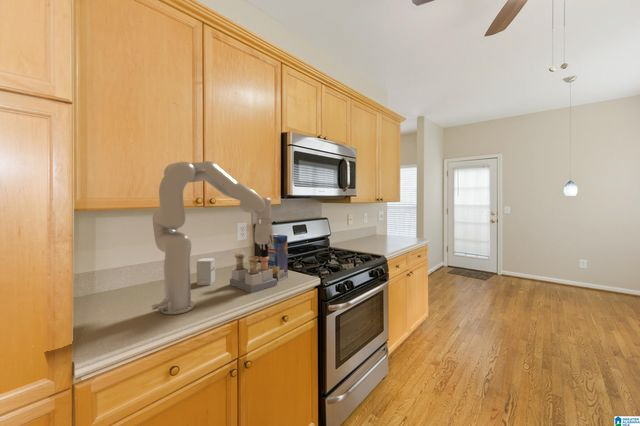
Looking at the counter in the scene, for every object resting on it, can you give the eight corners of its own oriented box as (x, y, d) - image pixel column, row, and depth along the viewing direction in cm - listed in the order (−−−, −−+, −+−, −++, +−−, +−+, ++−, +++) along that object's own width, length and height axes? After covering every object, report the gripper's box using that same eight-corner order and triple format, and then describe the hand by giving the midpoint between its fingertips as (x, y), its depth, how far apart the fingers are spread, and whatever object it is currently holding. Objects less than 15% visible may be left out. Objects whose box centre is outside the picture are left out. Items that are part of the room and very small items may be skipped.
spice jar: (252, 276, 138) (252, 258, 138) (246, 274, 141) (246, 257, 141) (260, 274, 142) (260, 257, 141) (254, 272, 145) (254, 255, 144)
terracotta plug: (263, 275, 146) (263, 258, 145) (257, 273, 149) (257, 256, 148) (271, 273, 149) (270, 256, 149) (265, 271, 152) (265, 255, 152)
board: (251, 292, 137) (251, 276, 136) (229, 284, 149) (229, 269, 149) (277, 285, 149) (277, 269, 148) (255, 277, 161) (255, 263, 161)
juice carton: (287, 278, 161) (287, 235, 160) (277, 281, 156) (277, 237, 154) (273, 274, 169) (273, 233, 167) (263, 277, 163) (262, 235, 161)
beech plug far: (238, 271, 146) (238, 255, 146) (233, 270, 149) (233, 253, 149) (246, 269, 150) (246, 253, 149) (241, 268, 153) (241, 252, 152)
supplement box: (211, 285, 148) (210, 261, 148) (196, 285, 148) (195, 261, 147) (215, 280, 156) (215, 257, 155) (201, 281, 155) (201, 258, 155)
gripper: (249, 221, 149) (250, 255, 151) (267, 223, 140) (267, 260, 141) (261, 220, 155) (261, 253, 156) (279, 221, 145) (279, 257, 146)
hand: (264, 256), depth 149 cm, fingers closed
